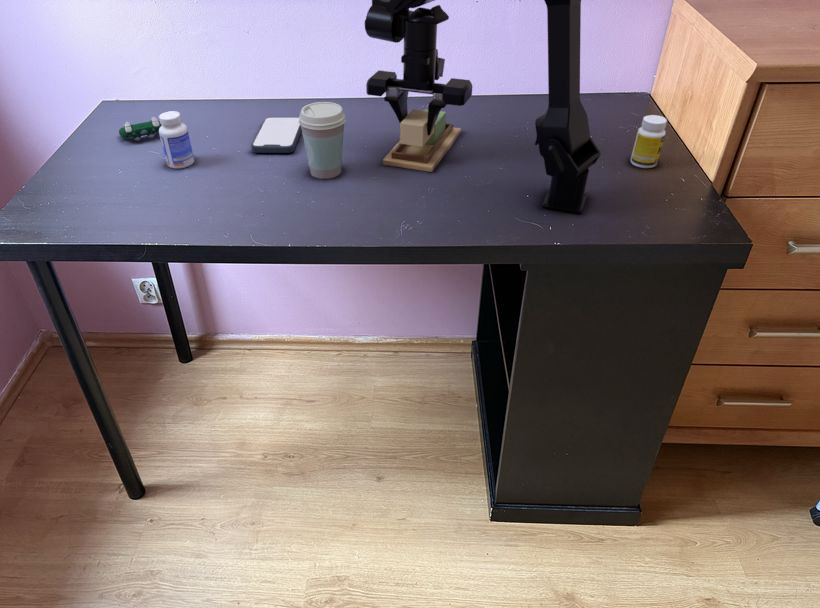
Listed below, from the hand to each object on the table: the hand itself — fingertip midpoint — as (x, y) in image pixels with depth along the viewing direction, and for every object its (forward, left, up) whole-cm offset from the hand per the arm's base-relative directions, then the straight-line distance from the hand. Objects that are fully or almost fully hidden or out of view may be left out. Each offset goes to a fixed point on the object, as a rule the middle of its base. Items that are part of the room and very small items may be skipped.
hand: (417, 133), depth 126 cm
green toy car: (-10, +58, -5) cm, 59 cm away
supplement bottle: (+11, -41, -5) cm, 43 cm away
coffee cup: (-12, +14, -5) cm, 19 cm away
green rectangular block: (+8, 0, -4) cm, 9 cm away
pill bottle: (-18, +43, -5) cm, 47 cm away
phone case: (-1, +30, -5) cm, 31 cm away
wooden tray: (+4, 0, -5) cm, 6 cm away
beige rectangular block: (0, 0, -1) cm, 1 cm away
